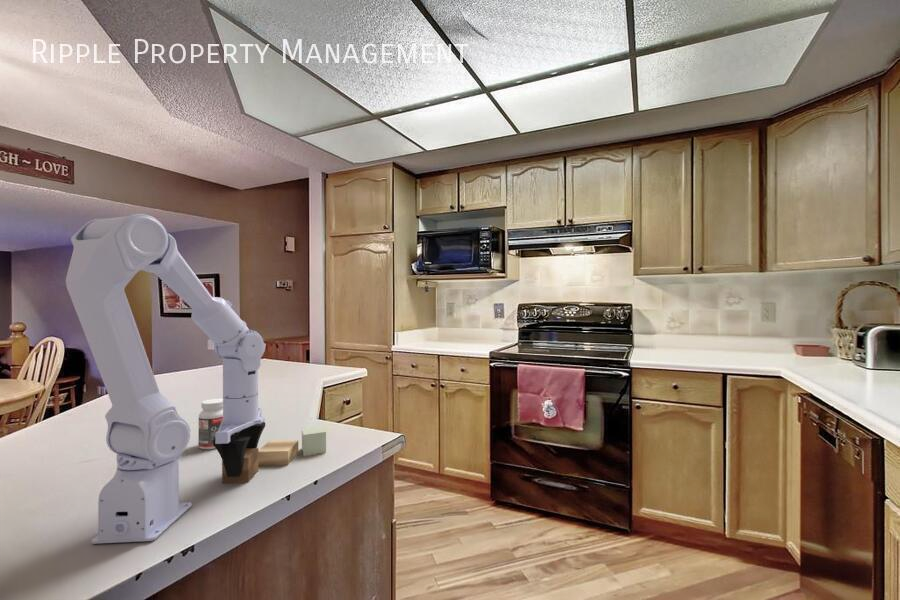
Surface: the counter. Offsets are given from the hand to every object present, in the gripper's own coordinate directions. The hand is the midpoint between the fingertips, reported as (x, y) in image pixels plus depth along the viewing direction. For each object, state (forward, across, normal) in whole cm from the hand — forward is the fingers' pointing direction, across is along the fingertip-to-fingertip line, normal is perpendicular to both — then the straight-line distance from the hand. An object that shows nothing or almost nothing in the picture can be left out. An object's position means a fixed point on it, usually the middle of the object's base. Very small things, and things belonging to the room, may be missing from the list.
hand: (240, 469), depth 73 cm
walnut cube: (+2, 0, 0) cm, 2 cm away
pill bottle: (+2, +17, +13) cm, 21 cm away
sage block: (+2, +12, -10) cm, 16 cm away
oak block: (+2, +8, -4) cm, 9 cm away
